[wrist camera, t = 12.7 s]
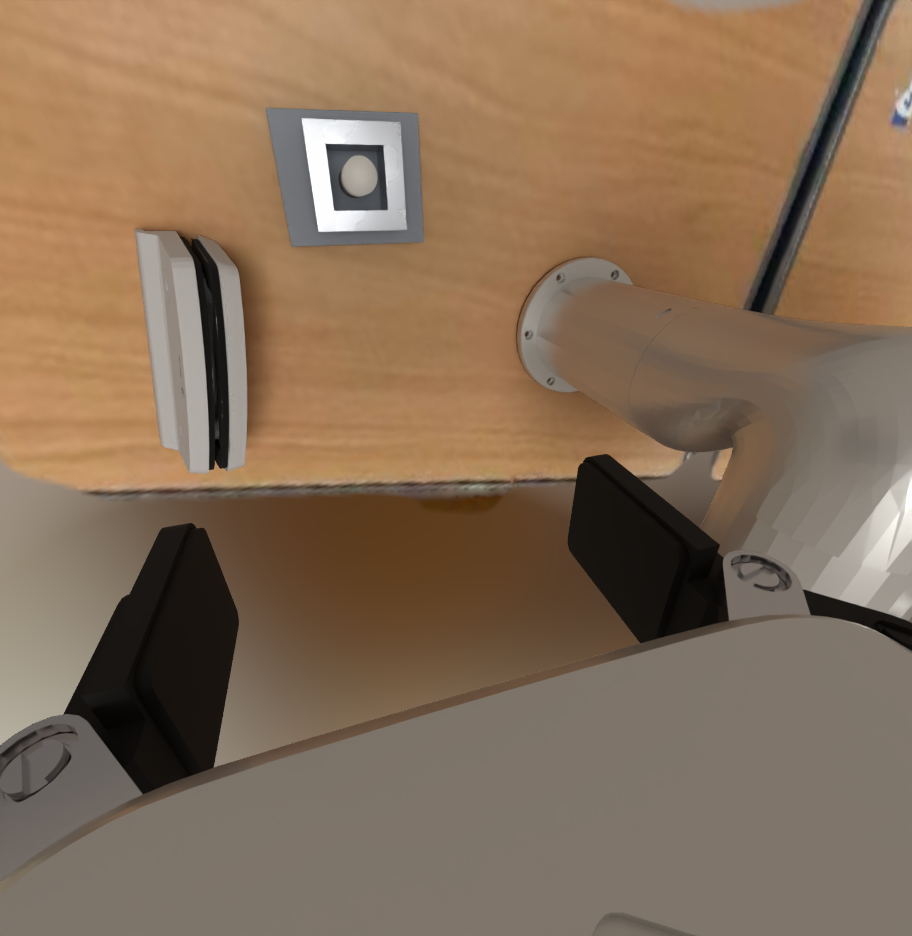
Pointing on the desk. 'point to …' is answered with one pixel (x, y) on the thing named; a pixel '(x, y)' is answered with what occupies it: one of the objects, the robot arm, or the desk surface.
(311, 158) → the grey square hollow block
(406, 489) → the desk surface
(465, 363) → the desk surface
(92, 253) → the desk surface
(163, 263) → the grey slotted holder
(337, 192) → the keeper
